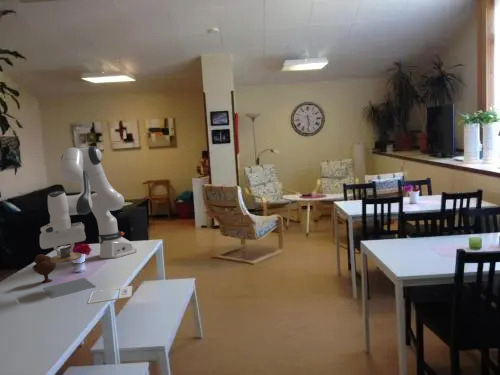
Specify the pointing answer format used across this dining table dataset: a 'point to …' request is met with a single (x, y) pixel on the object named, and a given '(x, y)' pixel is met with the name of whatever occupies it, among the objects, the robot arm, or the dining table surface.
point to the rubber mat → (68, 287)
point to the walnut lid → (65, 256)
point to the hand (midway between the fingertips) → (65, 253)
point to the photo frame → (124, 293)
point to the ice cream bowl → (44, 266)
